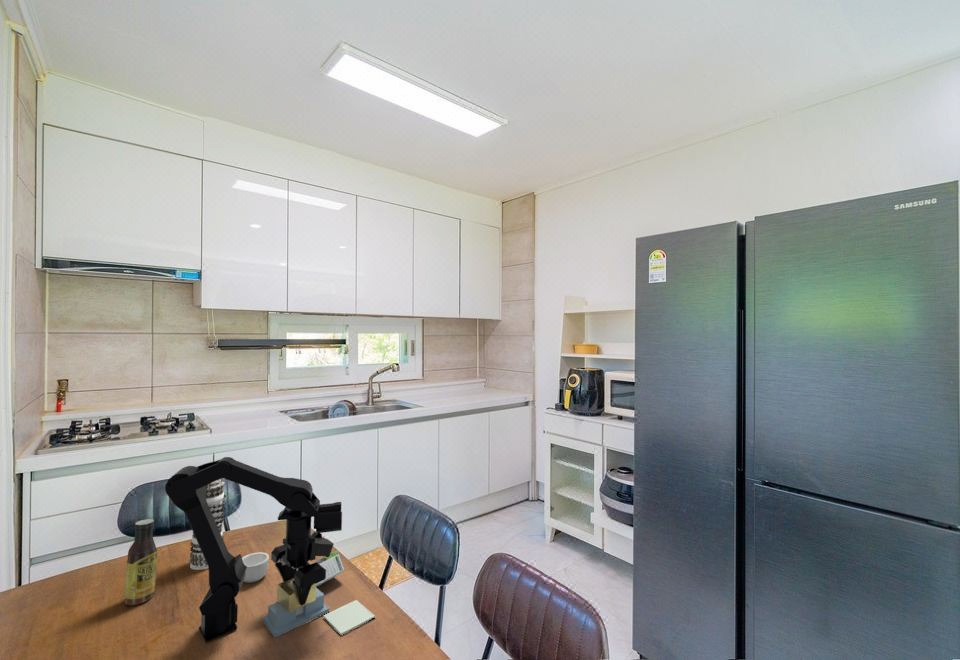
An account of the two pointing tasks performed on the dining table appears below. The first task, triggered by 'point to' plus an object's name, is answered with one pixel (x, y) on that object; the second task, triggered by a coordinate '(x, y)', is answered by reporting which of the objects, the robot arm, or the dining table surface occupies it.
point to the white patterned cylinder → (216, 506)
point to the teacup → (255, 566)
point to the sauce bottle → (141, 565)
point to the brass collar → (292, 596)
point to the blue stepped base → (293, 614)
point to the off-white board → (348, 617)
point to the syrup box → (331, 566)
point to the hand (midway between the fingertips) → (296, 598)
